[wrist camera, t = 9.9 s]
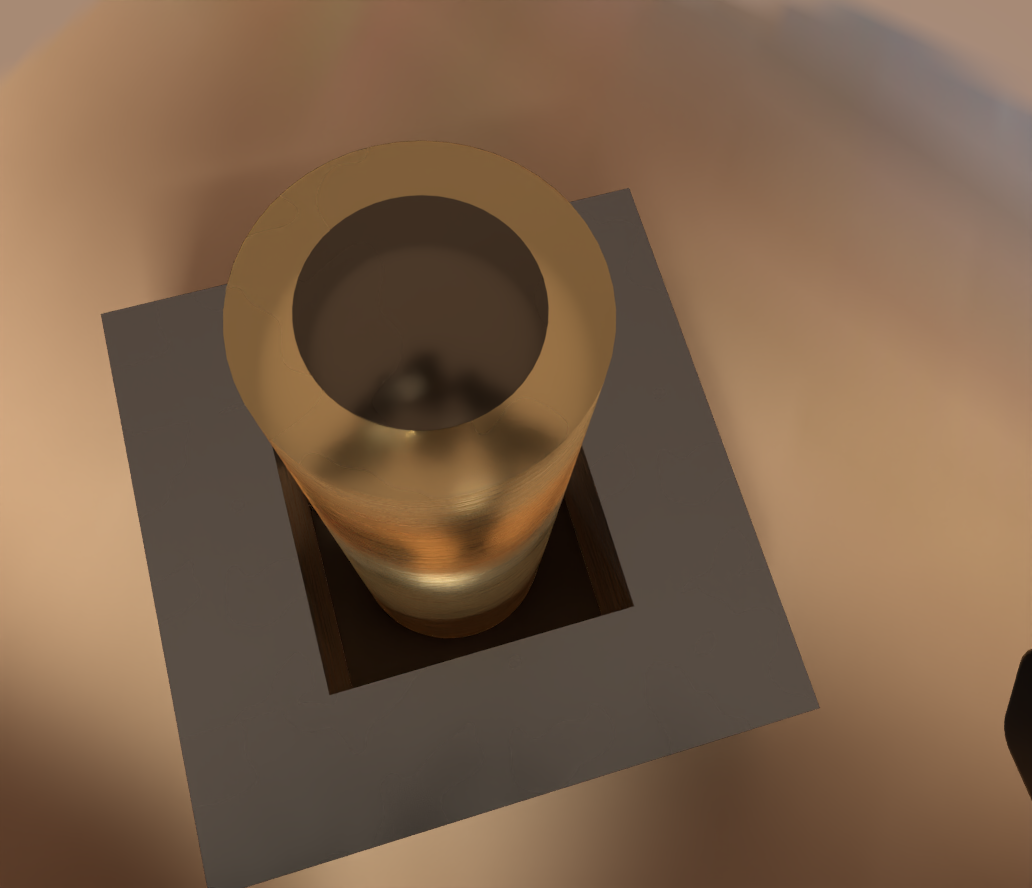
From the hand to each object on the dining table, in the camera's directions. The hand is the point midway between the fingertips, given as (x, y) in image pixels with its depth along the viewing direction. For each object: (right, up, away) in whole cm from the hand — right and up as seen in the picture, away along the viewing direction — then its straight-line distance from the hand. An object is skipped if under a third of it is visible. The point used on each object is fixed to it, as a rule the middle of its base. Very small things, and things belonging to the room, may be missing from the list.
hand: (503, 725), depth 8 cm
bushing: (-1, 0, +14) cm, 14 cm away
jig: (-1, 0, +14) cm, 14 cm away
